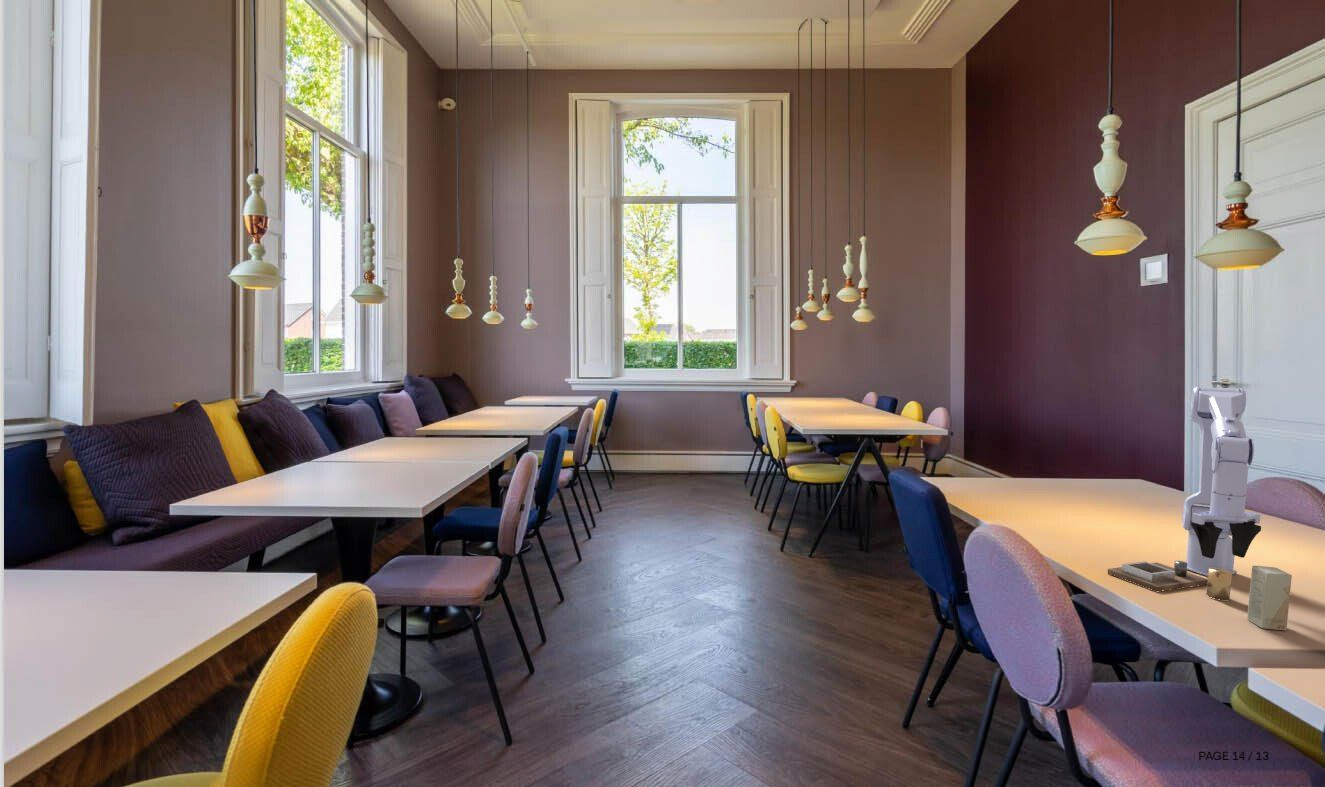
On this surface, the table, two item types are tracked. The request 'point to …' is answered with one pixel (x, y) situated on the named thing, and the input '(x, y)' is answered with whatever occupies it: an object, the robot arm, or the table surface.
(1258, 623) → the box
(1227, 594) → the cylinder
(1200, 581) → the fitting board
